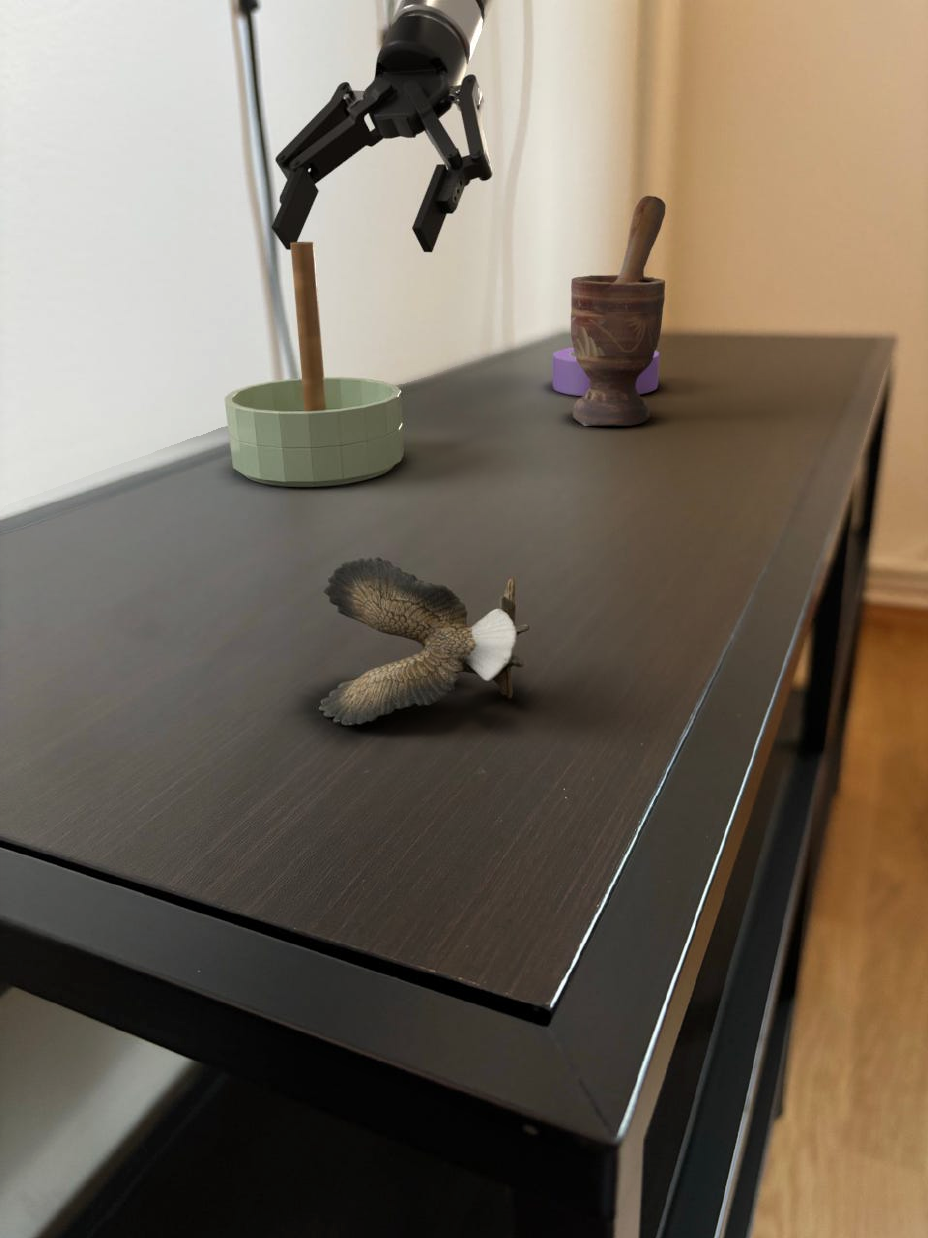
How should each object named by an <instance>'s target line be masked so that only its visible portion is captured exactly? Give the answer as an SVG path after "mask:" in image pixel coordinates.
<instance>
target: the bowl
mask: <svg viewBox="0 0 928 1238" xmlns="http://www.w3.org/2000/svg"><path fill="white" fill-rule="evenodd" d="M324 383H325V396H326V409H327V410H322V411H305V410H304V398H303V386H302V377H300V378H288V379H281V380H272V381H266V382H261V383H256V384H252V385H248V386H244V387H241V388H239V389H236V390H233V391H231V392H230V393H228V394H227V395H226V396H224V405H225V414H226V423H227V429H228V431H227V432H228V440H229V448H230V456H231V457H230V458H231V463H232V468H233V470H235V471H237V472H239V473H240V474H242V475H243V476H244V477H245V478H247V479H249V480H251V481H254V482H257V483H261V484H265V485H271V486H277V487H289V488H317V487H318V488H319V487H320V488H321V487H331V486H332V487H333V486H339V485H340V486H341V485H347V484H352V483H358V482H362V481H366V480H369V479H374V478H376V477H379V476H381V475H384V474H386V473H387V472H390V471H391V470H392V469H393V468H394V466H395V465H397V464H399V463H400V462H402V460H403V457H404V454H405V449H404V448H405V447H404V446H405V445H404V427H403V425H404V424H403V405H402V403H403V401H402V390H401V389H400V388H399V387H398V385H395V384H393V383H392V384H391V383H389V382H386V381H383V380H377V379H371V378H364V377H363V378H361V377H344V376H333V377H332V376H329V377H328V376H326V377H325V376H324Z"/></svg>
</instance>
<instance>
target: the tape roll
mask: <svg viewBox="0 0 928 1238" xmlns="http://www.w3.org/2000/svg"><path fill="white" fill-rule="evenodd" d="M659 369H660V352H659V351H657V349H656V350H655V353H654V357H653V360H652V362H651V364H650V365H649V366H648V367H647V368H646V369H645V370H644V371H643V372H642V373H641V374H640V375H639V376H638V378H637V381H636V390H637V392H638V394H639V395H644V394H648V393H651V392H653V391H655V390H657V389H658V386H659ZM589 388H590V384H589V378H588V376H587V375H586V374H585V372H584V371H583V369H582V368H581V367H580V365H579V364H578V362H577V360H576V355H575V351H574V347H569V348H563V349H559V350H557V351H555V352H554V353H553V354H552V389H553V390H554V391H556V392H558V393H561V394H564V395H569V396H576V397H583V396H585V394H586V391H588V389H589Z"/></svg>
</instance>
